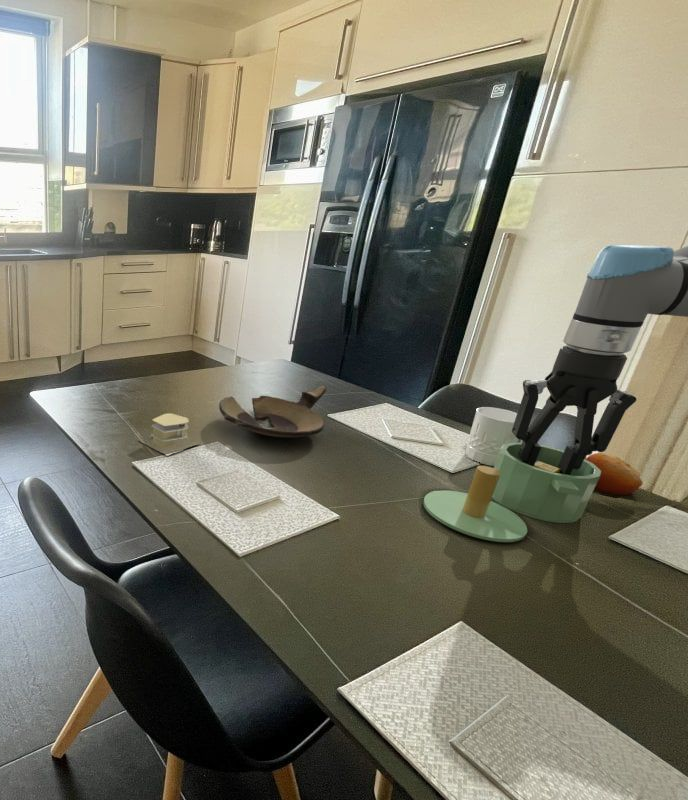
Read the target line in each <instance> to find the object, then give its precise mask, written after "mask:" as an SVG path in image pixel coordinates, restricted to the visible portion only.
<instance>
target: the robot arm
mask: <svg viewBox="0 0 688 800" xmlns="http://www.w3.org/2000/svg"><path fill="white" fill-rule="evenodd" d="M648 315H656V316H672V317H685V318H688V245H686V246H684V247H681V248H679V249H676V250H674V249H673V248H672V247H670V246H663V245H662V246H661V245H659V246H658V245H640V244H639V245H638V244H610V245H606V246H605V247H603V248H602V249H600V251H599V252H598V254H597V255H596V258H595V259H594V261H593V263H592V266H591V267H590V270H589V272H588V273H587V276H586V280H585V283H584V286H583V289H582V291H581V294H580V297H579V300H578V302H577V305H576V308H575V311H574V313H573V315H572V318H571V320H570V322H569V325H568V327H567V330H566V333H565V335H564V337H563V340H562V342H563V344H565V345H563V346H561V347H559V351H558V353H557V356H556V359H555V361H554V363H553V366H552V370H551V371H550V373H549V374H548V375H547V376H545V378H544V379H540V380H533V381H532V380H531V379H526V380H523V382H522V389H523V395H522V398H521V401H520V404H519V407H518V410H517V412H516V413H517V416H516V419H515V422H514V425H513V428H512V433H513V434H514V435H515V437H516V438H517V439H518V440H520V441H522V444H521V446H520V449H519V452H518V457H519V458H520V460H522V462H524V463H526V464H528V465H531V466H533V467H534V464H535V462H536V459H537V457H538V454H539V452H540V449H541V446H540V445H541V444H539V443H538V442H540V440H541V438H542V437H543V435H544V434H545V433H546V432H547V430H548V429H549V427H550V426H551V424H552V423H553V422H554V421H555V420H556V418H557V417H558V415H559V414H560V413H561V412H563V411H564V410H565V408H567V407H574V406H575V407H576V409H577V412H576V420H575V427H574V428H575V430H574V437H573V438H574V439H573V446H570V445H566V447H565V449H564V450H563V451H564V453H563V456H562V458H561V460H560V463H559V465H558V467H557V468H559V469H561V470H560V472H559V474H565V475H570V474H571V472H572V469H577V470H578V469H579V468H580V467H581V465H582V463H583V461H584V459H586V456H590V455H592V454H593V452H598V453H604V452H606V451H607V449H608V447H609V445H610V443H611V441H612V440H613V437H614V434H615V433H616V431H617V429H618V427H619V425H620V423H621V421H622V419H623V417H624V415H625V413H626V411H627V410H628V409H629V408H630V407H631V406H632V405H634V404H635V403H636V402H637V397H636V396H634V395H632V394H631V393H629V392H628V391H625V390H620V389H618V384H617V381H618V379H619V378H620V376H621V374H622V372H623V370H624V368H625V365H626V363H627V360H628V357H627V355H626V354H625V353H629V352H631V351H632V349H633V346H634V345H635V342H636V340H637V337H638V336H639V333H640V331H641V329H642V326H643V325H644V323H645V320H646V318H647V316H648ZM546 388H547V391H548V392H549V394H550V395H548V397H547V399H546V401H545V404H544V405H543V407H542V408H541V410H540V411H539V413H538V414H537V416H536V417H535V418H534V420H533V421H532V418H533V414H534V413H535V410H536V407H537V404H538V401H539V395H541V394H542V393H544V392H543V391H544V389H546ZM605 399H608V400H609V402H608V404H607V405H606V407H605V409H604V411H603V413H602V414H601V417H600V419H599V421H598V424H597V425H596V427H595V429H594V421H595V416H596V414H597V410H598V404H599V403H601V402H602V401H604V400H605ZM531 421H532V422H531ZM593 430H594V431H593Z"/></svg>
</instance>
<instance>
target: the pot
mask: <svg viewBox="0 0 688 800" xmlns="http://www.w3.org/2000/svg"><path fill="white" fill-rule="evenodd" d="M521 444H522V440H520V442H517V443H515V442H512V443H508V444H503V446H502V447H501V449H500V452H499V455H498V458H497V460H496V463H495V466H493V468H494V469H496V470H498V471H499V472H500V473H501V475H500V477H499V480H498V483H497V485H496V488H495V491H494V493H493V496H492V498H491V500H493V501H495V503H497V504H499V505H501V506H503V507H505V508H507V509H508V510H510V511H512V512H514V513H518V514H519V515H523V516H526V517H529V518H532V519H536V520H540V521H544V522H549V523H555V524H572V523H576V522H578V521H579V520H580V519H581V518H582V516H583V515H584V512H585V510H586V508H587V506H588V504H589V502H590V499H591V497H592V495H593V492H594V491H595V490H594V488H595V486H596V484H597V482H598V480H599V478H600V474H601V470H600V469H599V468H598V467H596V466H595V465H594V464H593V463H591V462H589V461H587V460H585V459H586V458H585V459H584V461H583V463H582V465H581V467H580V468H579V469H578V470H577V469H572V472H571V474H570V475H565V474H559V473H553V472H550V471H546V470H543V469H539V468H536V467H533V466H531V465H528V464H526V463H524V462H522V460H520V458H519V457H518V452H519V449H520V446H521ZM539 445H540V446H541V449H540V452H539V454H538V457H537V459H536V462H537V461H540V462H543V463H545V464H548V465H551V466H554V467H558V465H559V463H560V460H561V458H562V456H563V453H564V451H565V450H564V449H563V450H562V449H560V448H556V447H552V446H547V445H543V444H539Z"/></svg>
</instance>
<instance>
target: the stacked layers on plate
mask: <svg viewBox="0 0 688 800" xmlns="http://www.w3.org/2000/svg"><path fill="white" fill-rule="evenodd" d="M151 421H153V422H155V423H153V424H151V428H152V429H153V430H152V432H151V433H150V436H153V443H155V444H157V445H158V446H160V447H162V448H165V447H167V446H170V445H173V444H175V441H176V440H177V439H183V438H188V432H187V430H188V429H189V425H188V423H190V421H189V418H188V417H185V416H182V415H179V414H175V413H170V412H169V413H163V414H161V415H159V416H157V417H155V418H153V419H151Z"/></svg>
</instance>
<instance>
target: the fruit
mask: <svg viewBox="0 0 688 800" xmlns="http://www.w3.org/2000/svg"><path fill="white" fill-rule="evenodd" d="M585 460H587V461H589V462H591V463H593V464H594V465H595V466H596V467H598V468H599V469H600V470H601V474H600V478H599V480H598V482H597V484H596V486H595V488H594V491H597V492H601V493H600V495H601V496H605V497H610V498H613V499H619V498H620V496H628V495H630V494H632V493H634V492H636V491H638V489H640V487H642V485H643V483H644V482H643V480H642V478H641V477H640V472H639V471H638V470H637V469H635V468H634V467H633V466H631V464H629V463H628V462H627V461H625V460H624V459H621V458H620V457H618V456H616V455H611V454H606V453H604V452H598V453H597V452H596V453H592V454H590V455H587V457H585ZM615 495H616V496H615Z"/></svg>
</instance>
